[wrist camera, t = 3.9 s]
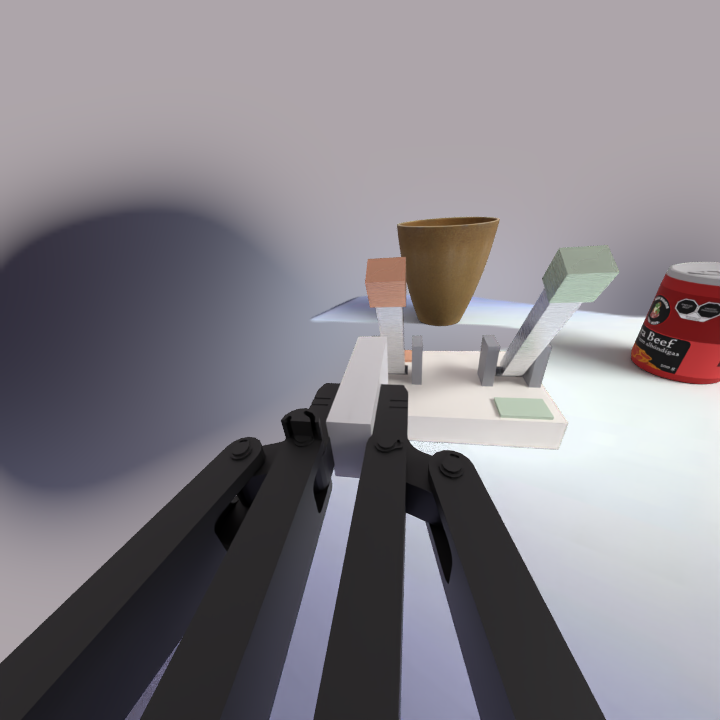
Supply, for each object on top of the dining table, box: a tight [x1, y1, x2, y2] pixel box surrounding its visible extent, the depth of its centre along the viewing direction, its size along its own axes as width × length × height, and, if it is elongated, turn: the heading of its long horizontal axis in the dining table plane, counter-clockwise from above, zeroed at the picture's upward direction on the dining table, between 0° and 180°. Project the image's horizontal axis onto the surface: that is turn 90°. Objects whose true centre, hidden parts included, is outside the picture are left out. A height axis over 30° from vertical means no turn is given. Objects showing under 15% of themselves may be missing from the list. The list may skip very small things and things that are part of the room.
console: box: [371, 335, 568, 450], centre depth 29 cm, size 17×12×7 cm
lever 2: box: [495, 245, 619, 377], centre depth 22 cm, size 2×2×15 cm
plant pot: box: [397, 217, 500, 326], centre depth 47 cm, size 15×15×16 cm
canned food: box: [631, 262, 720, 384], centre depth 30 cm, size 8×8×11 cm
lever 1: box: [365, 257, 408, 375], centre depth 24 cm, size 2×2×15 cm
